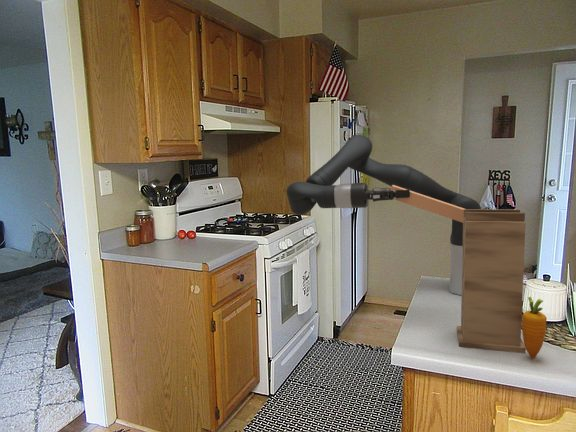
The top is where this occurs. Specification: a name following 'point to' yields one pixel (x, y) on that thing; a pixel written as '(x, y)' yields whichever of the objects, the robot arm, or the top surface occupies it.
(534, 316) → the carrot
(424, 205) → the bar
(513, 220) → the stand
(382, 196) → the robot arm
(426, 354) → the top surface
